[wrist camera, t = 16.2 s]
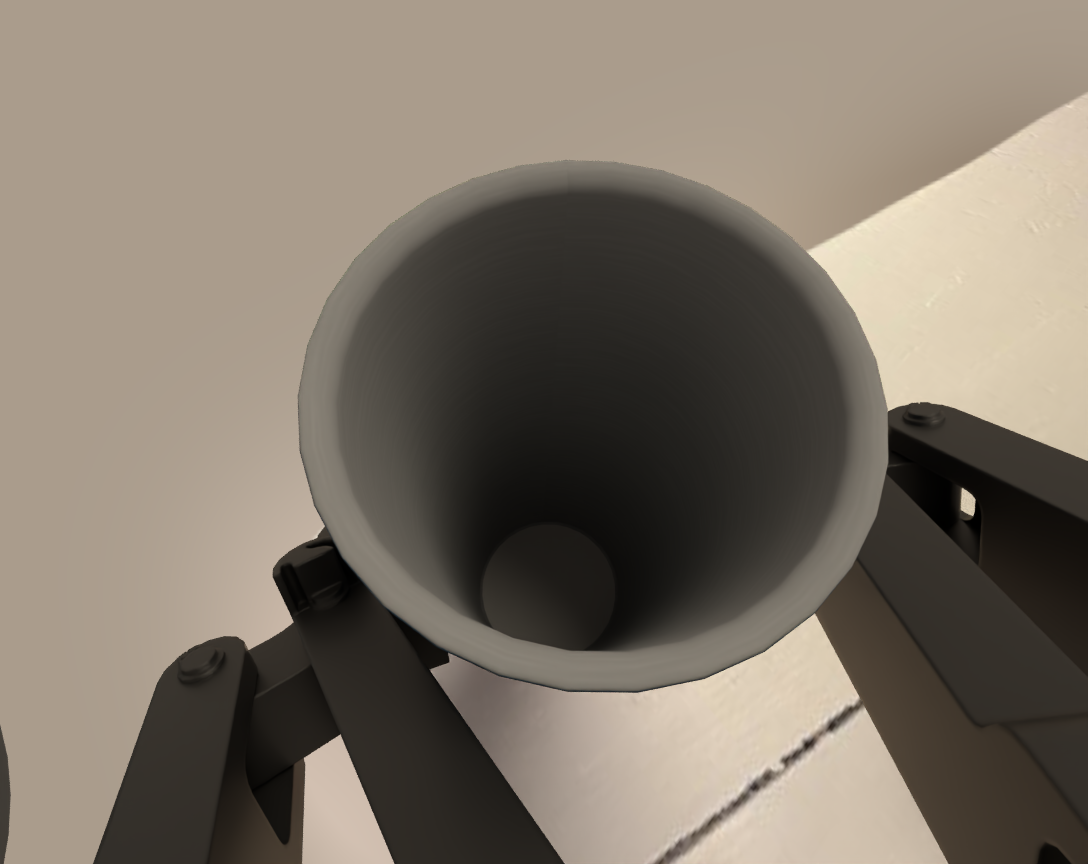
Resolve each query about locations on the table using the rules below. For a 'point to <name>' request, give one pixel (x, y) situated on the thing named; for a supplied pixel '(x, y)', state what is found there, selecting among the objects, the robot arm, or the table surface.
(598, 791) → the table surface
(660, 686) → the cup
